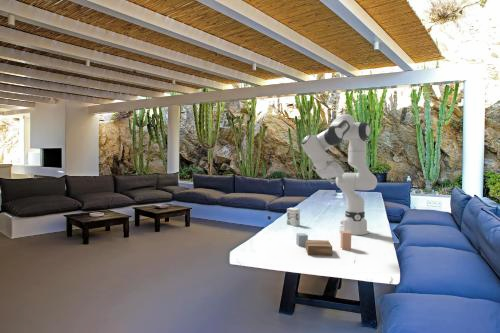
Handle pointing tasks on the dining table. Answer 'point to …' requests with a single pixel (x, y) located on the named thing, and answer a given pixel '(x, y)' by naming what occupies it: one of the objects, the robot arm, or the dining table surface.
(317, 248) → the walnut block
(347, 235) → the terracotta block
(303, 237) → the slate grey block
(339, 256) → the dining table surface
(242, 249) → the dining table surface
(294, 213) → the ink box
